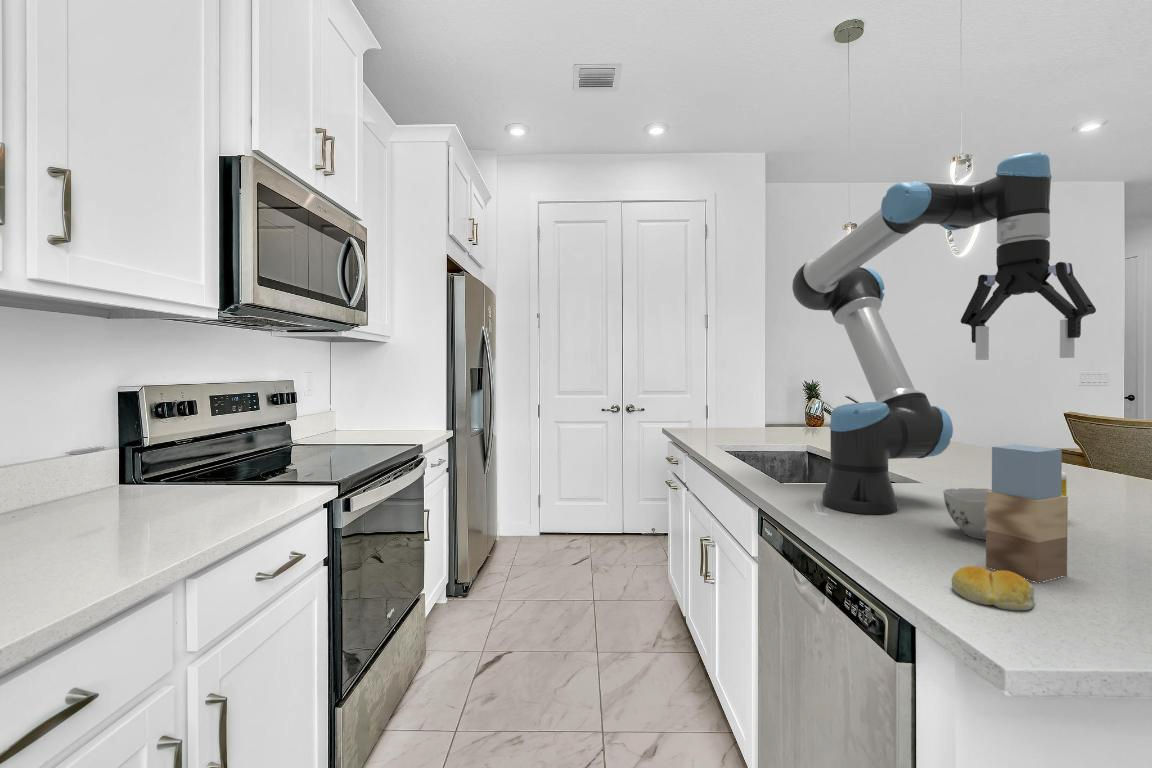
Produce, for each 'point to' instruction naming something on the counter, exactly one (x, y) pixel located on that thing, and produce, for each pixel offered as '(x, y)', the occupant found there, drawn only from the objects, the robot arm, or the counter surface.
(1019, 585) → the bread roll
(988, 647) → the counter surface
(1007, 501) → the tower mid
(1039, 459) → the slate block
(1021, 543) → the tower base
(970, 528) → the teacup
